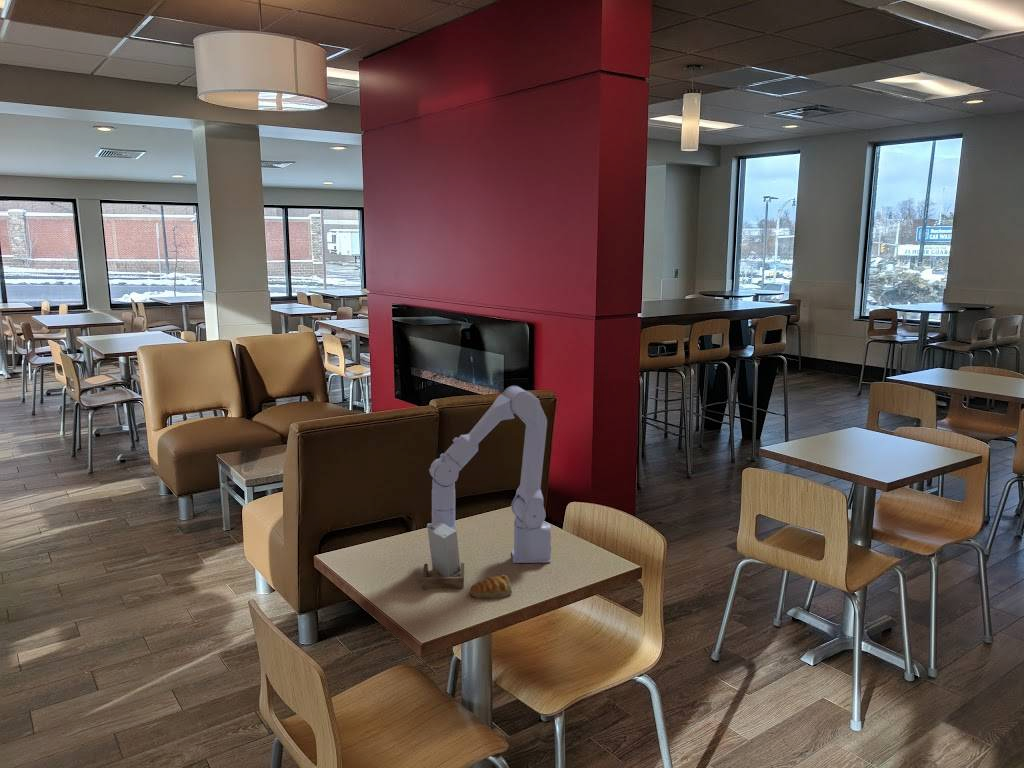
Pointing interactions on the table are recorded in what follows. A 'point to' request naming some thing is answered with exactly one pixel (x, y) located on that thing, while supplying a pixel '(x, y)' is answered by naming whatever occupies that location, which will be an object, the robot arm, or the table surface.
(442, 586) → the bottle holder
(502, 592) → the pastry
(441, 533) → the skincare box
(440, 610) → the table surface
